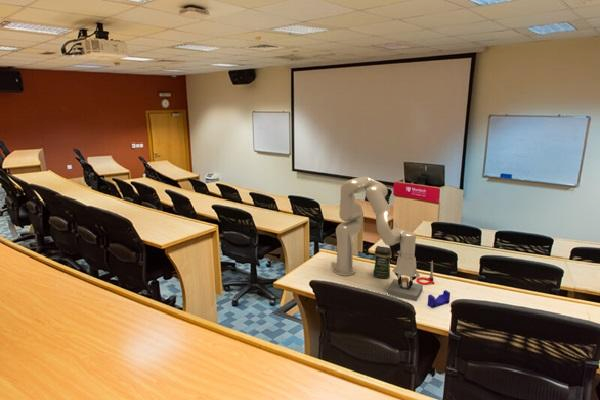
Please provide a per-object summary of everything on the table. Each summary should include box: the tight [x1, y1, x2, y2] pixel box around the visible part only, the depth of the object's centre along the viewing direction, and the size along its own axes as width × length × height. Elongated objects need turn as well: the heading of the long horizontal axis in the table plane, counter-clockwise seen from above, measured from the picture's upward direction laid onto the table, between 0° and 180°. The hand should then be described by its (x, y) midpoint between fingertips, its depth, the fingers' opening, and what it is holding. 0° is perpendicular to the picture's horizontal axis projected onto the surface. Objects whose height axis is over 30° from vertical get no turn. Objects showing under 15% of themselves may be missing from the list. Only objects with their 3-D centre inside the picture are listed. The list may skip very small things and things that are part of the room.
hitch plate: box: [386, 278, 424, 302], centre depth 204 cm, size 16×14×3 cm
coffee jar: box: [373, 245, 392, 280], centre depth 221 cm, size 10×8×19 cm
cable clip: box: [426, 290, 451, 309], centre depth 192 cm, size 12×4×6 cm, turn 115°
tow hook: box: [415, 260, 435, 286], centre depth 215 cm, size 8×13×9 cm
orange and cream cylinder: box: [401, 276, 410, 290], centre depth 203 cm, size 4×4×8 cm
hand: (405, 285), depth 203 cm, fingers open, 5 cm apart
